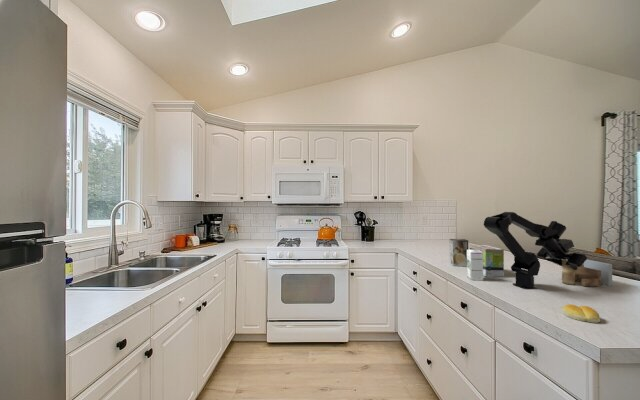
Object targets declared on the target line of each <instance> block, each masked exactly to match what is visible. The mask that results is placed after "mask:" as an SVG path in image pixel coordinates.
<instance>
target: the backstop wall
mask: <svg viewBox="0 0 640 400" xmlns="http://www.w3.org/2000/svg"><path fill="white" fill-rule="evenodd" d="M583 267H587V268H591V269H596V270H601V285H603V286H604V285H605V286H608V287H610V286H611V287H613V264H612V263H606V262H603V261H596V260H592V259H586V261H585V262H584V263H583Z"/></svg>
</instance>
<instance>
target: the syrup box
mask: <svg viewBox="0 0 640 400" xmlns="http://www.w3.org/2000/svg"><path fill="white" fill-rule="evenodd" d="M466 277H467V278H468V279H469V280H471V281H478V282H479V281H480V282H481V281H482V282H483V281H484V275H483V253H482V252H481V251H479V250H470V249H469V250H467V266H466Z"/></svg>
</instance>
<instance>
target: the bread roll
mask: <svg viewBox="0 0 640 400" xmlns="http://www.w3.org/2000/svg"><path fill="white" fill-rule="evenodd" d="M561 312H562V314H563V315H564V316H566V317H568V318H570V317H571V318H570V319H573V318H574V320H576V319H577V321H580V322H587V323H591V324H592V323H593V324H595V323H597V324H598V323H600V322H601V319H600V314H599V312H598V311H596V310H595V309H594V308H593V307H589V306H586V305H580V306H577V305H575V304H569V303H568V304H565V305H564V306H562V309H561Z"/></svg>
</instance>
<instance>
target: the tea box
mask: <svg viewBox="0 0 640 400" xmlns="http://www.w3.org/2000/svg"><path fill="white" fill-rule="evenodd" d="M469 250H479V251H481V252H482V253H483V277H493V278H495V277H498V278H500V277H501V278H502V277H505V276H504V273H505V268H504V267H505V265H504V264H505V263H504V262H505V261H504V260H505V258H504V257H505V256H504V255H505V253H504V248H499V247H495V246H493V245H487V244H469Z"/></svg>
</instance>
